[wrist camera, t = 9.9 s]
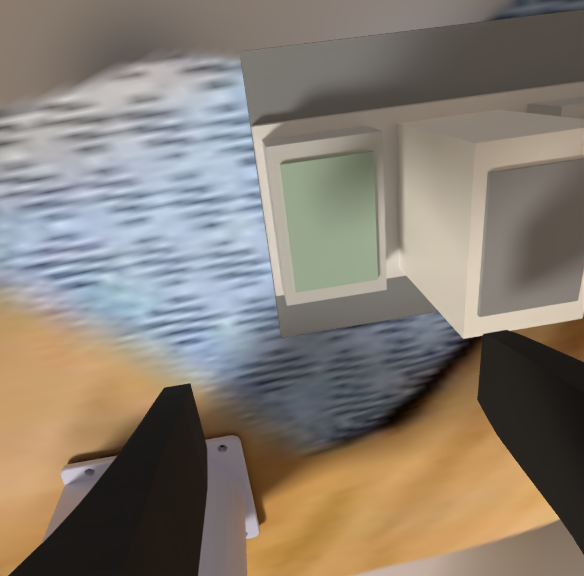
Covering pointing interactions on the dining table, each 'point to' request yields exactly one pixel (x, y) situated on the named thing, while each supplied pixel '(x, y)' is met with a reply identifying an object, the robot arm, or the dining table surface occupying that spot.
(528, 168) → the module block
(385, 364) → the dining table surface
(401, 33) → the mounting board
